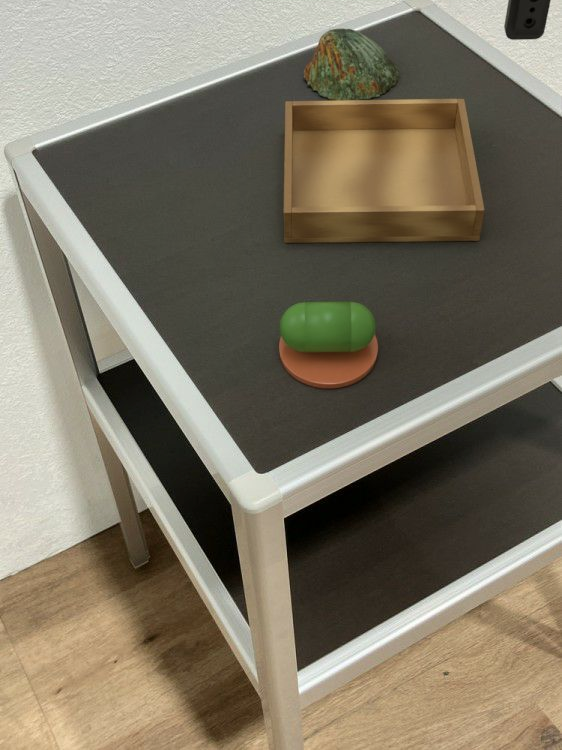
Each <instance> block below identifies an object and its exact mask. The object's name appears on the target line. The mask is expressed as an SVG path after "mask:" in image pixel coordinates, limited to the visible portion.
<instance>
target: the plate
mask: <svg viewBox="0 0 562 750" xmlns="http://www.w3.org/2000/svg"><path fill="white" fill-rule="evenodd" d="M278 344H279V345H278V355H279V359H280V362H281V364H282V366H283V367H284V370H286V372H287V373H288V374H289V375H290V376H291V377H292V378H294V379H295V380H296V381H298V382H300V383H302V384H304V385H307V386H309V387H313V388H318V389H329V390H330V389H331V390H332V389H339V388H344V387H348V386H351V385H353V384H356V383H357V382H359V381H361V380H362V379H364V378H365V377H366V376H367V375H369V374H370V373H371V371H372V369H373V368H374V366H375V365H376V363H377V360H378V354H379V343H378V339H377V336H376V333H375V334H374V337H373V339H372V341H371V342H370V343H369V344H368V345H367V346H366V347H365V348H363V349H361V350H359V351H356V352H313V353H304V352H298V351H295V350H293V349H291V348H290V347H289V346H287V345H286V343H285V342H284V341H283V339H282V337H281V336H280V337H279V342H278Z"/></svg>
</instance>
